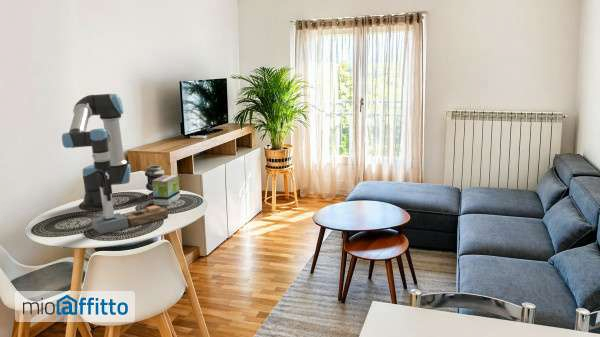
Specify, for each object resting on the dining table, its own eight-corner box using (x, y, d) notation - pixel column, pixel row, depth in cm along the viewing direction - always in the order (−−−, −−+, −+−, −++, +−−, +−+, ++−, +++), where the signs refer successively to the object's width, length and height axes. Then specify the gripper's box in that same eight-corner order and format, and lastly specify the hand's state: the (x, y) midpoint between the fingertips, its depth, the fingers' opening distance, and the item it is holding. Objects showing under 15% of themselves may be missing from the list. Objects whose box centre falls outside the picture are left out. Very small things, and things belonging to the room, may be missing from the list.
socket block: (122, 221, 254) (122, 213, 253) (158, 212, 267) (158, 205, 266) (131, 226, 245) (130, 219, 244) (168, 217, 258) (167, 210, 257)
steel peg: (103, 217, 243) (99, 186, 240) (111, 215, 246) (107, 185, 242) (106, 219, 240) (102, 188, 237) (114, 217, 243) (110, 186, 239)
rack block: (92, 228, 245) (91, 219, 244) (120, 221, 253) (118, 212, 252) (100, 234, 236) (99, 224, 235) (128, 227, 244) (127, 218, 243)
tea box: (169, 205, 279) (167, 180, 276) (153, 205, 281) (151, 180, 278) (180, 198, 294) (178, 174, 290) (165, 197, 296) (163, 174, 292)
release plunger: (147, 216, 259) (146, 207, 258) (156, 214, 262) (155, 205, 261) (151, 218, 255) (150, 209, 254) (160, 216, 258) (159, 207, 257)
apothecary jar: (156, 198, 296) (153, 169, 292) (142, 195, 302) (139, 167, 298) (170, 193, 306) (168, 165, 302) (157, 191, 312) (154, 163, 308)
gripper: (88, 159, 241) (94, 204, 246) (99, 164, 228) (105, 211, 233) (103, 157, 245) (109, 200, 251) (115, 161, 233) (121, 207, 238)
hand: (107, 205), depth 242 cm, fingers closed on steel peg, 4 cm apart
